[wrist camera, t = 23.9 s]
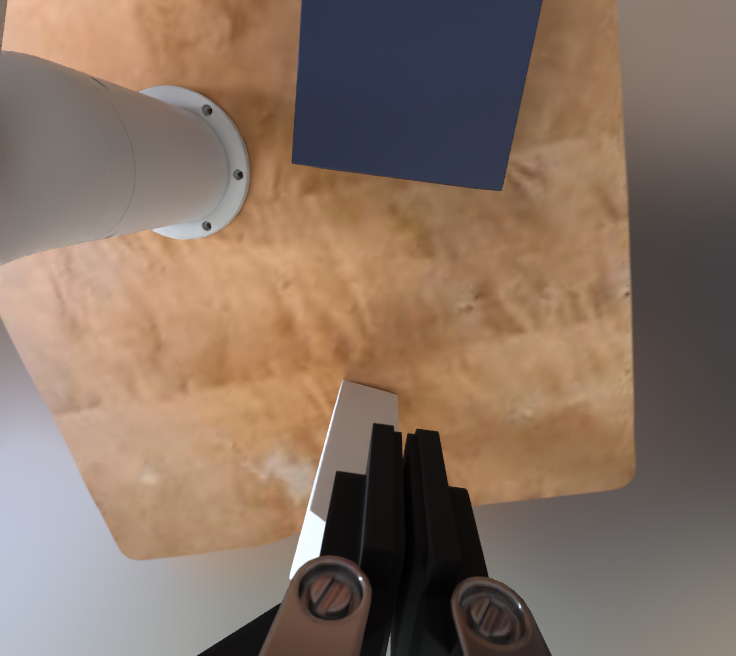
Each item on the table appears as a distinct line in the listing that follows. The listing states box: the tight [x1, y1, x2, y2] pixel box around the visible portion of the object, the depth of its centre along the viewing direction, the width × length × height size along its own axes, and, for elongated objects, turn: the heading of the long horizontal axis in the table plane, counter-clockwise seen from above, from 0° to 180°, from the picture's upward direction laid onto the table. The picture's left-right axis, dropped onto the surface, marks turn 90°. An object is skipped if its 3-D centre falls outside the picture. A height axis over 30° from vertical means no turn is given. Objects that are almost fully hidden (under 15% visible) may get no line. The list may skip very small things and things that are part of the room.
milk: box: [290, 380, 398, 580], centre depth 35 cm, size 6×6×22 cm
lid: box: [292, 0, 543, 191], centre depth 28 cm, size 15×15×1 cm
